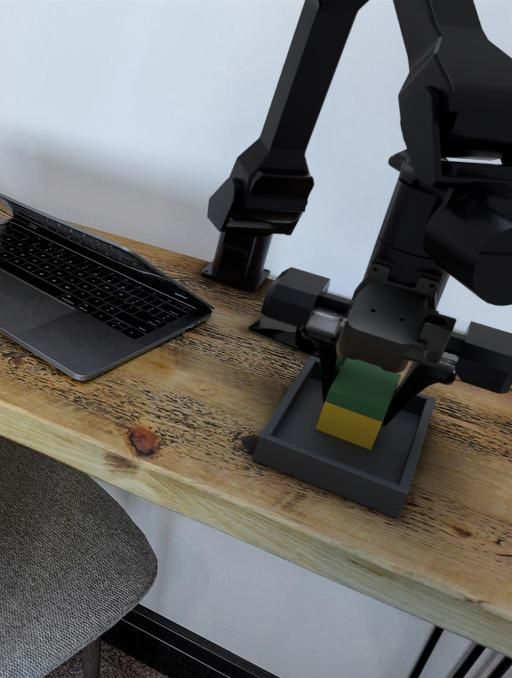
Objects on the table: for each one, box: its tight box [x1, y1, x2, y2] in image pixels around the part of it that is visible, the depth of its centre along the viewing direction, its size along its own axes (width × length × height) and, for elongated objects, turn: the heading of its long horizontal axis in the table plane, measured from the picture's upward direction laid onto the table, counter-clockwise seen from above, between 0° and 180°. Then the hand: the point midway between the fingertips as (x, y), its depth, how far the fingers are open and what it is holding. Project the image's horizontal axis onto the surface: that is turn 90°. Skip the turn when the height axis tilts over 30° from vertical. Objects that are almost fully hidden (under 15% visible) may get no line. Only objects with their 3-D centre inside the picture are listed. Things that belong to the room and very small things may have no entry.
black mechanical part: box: [247, 315, 379, 367], centre depth 82 cm, size 12×7×5 cm, turn 49°
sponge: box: [316, 358, 402, 450], centre depth 69 cm, size 7×4×4 cm, turn 147°
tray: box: [251, 356, 437, 519], centre depth 68 cm, size 16×11×2 cm
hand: (354, 412), depth 70 cm, fingers closed on sponge, 4 cm apart
